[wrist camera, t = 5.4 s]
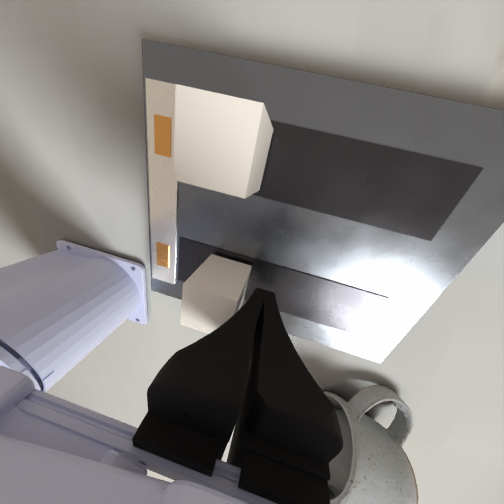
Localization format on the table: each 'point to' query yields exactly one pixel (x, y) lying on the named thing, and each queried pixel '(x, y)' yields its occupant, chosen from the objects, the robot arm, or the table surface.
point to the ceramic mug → (372, 452)
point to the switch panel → (328, 196)
